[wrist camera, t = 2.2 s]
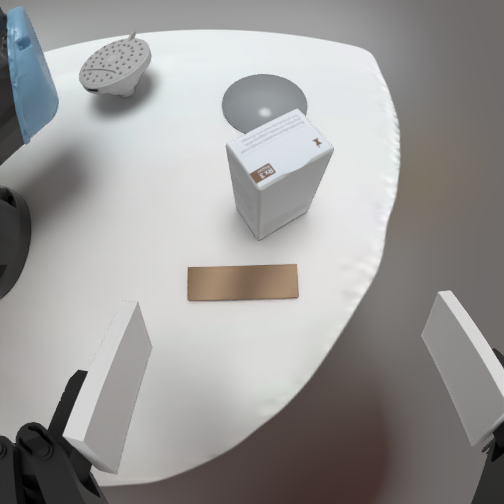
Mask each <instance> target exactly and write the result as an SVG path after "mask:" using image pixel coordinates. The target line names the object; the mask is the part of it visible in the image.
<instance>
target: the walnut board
mask: <svg viewBox="0 0 504 504" xmlns="http://www.w3.org/2000/svg"><path fill="white" fill-rule="evenodd" d="M298 297H299V293H298V275H297V264H285V265H255V266H220V267H188V300H189V301H206V300H252V299H280V298H298Z"/></svg>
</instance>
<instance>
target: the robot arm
mask: <svg viewBox="0 0 504 504" xmlns="http://www.w3.org/2000/svg"><path fill="white" fill-rule="evenodd" d="M58 104H59V101H58V95H57V91H56V88H55V85H54V82H53V79H52V76H51V73H50V71H49V68H48V65H47V63H46V60H45V57H44V54H43V52H42V49H41V46H40V44H39V41H38V39H37V36H36V33H35V31H34V28H33V26H32V23H31V21H30V19H29V17H28V15H27V13H26V10H25V8H24V7H22V6H19V7H16V8H14V9H13V8H12V9H10V10H9V11H8V12H7V14H5V13H3V11H2V9H1V8H0V165H1V164H2V163H4V162H5V161H6V160H7V159H8V158H9V157H10V156H11V155H12V154H13V153H14V152H16V151H17V150H18V149H19V148H20V147H21V146H22V145H24V144H28V143H29V142H30V139H31V138H32V137H33V136H34V135H35V134H36V133H37V132H38V131H39V130H41V129H42V128H43V127H44V126H45V125H46V124H48V123H49V122H50V121H51V120H52V119H53V117H54V116H55V114H56V112H57V109H58ZM30 232H31V224H30V215H29V211H28V207H27V205H26V203H25V201H24V200H23V198H22V197H21V196H20V195H18V194H17V193H15V192H14V191H13V190H11V189H10V188H8V187H5V186H0V298H1V297H3V296H4V295H5V294H6V293H7V292H8V291H9V290H10V289H11V288H12V286H13V285H14V283H15V282H16V280H17V278H18V277H19V275H20V272H21V270H22V268H23V265H24V262H25V259H26V256H27V252H28V248H29V242H30ZM421 337H422V339H423V340H424V342H425V344H426V346H427V348H428V350H429V352H430V354H431V356H432V358H433V360H434V362H435V364H436V366H437V368H438V370H439V372H440V374H441V376H442V378H443V380H444V383H445V385H446V387H447V389H448V391H449V394H450V396H451V398H452V400H453V402H454V405H455V407H456V409H457V412H458V414H459V416H460V419H461V421H462V423H463V426H464V428H465V431H466V433H467V436H468V438H469V441H470V443H471V446H473V445H475V444H478V443H480V442H483V441H485V440H486V439H487V438H488V437H489V436H490V435H491V434H492V433H493V434H494V438H493V440H491V441H490V442H489V443H488V444H487V445H486V446H485V447H484V448H483V450H482V452H484V451H486V450H487V449H488V448H489V447H490V448H489V450H488V452H487V453H486V454H488V455H487V459H486V462H485V466H484V469H483V472H482V475H481V478H480V481H479V484H478V487H477V490H476V492H475V495H474V498H473V500H472V503H471V504H504V356H503V355H502V354H501V353H500V352H499V351H497V350H496V349H495V348H494V349H491V348H490V346H489V345H488V343H487V342H486V340H485V338H484V337H483V335H482V334H481V332H480V331H479V329H478V328H477V327H476V325H475V324H474V322H473V321H472V319H471V318H470V316H469V315H468V314H467V312H466V311H465V309H464V308H463V307H462V305H461V304H460V303H459V301H458V300H457V299H456V297H455V296H454V295H453V293H452V292H451V291H442V292H438V293H437V296H436V299H435V302H434V304H433V307H432V310H431V313H430V315H429V318H428V320H427V323H426V325H425V328H424V330H423V333H422V335H421ZM151 350H152V345H151V342H150V339H149V336H148V333H147V330H146V326H145V323H144V320H143V317H142V313H141V310H140V307H139V303H138V302H136V301H122V302H121V304H120V306H119V308H118V310H117V312H116V314H115V316H114V318H113V320H112V322H111V324H110V326H109V328H108V330H107V332H106V334H105V336H104V338H103V340H102V343H101V345H100V347H99V349H98V351H97V353H96V356H95V358H94V360H93V362H92V364H91V367H90V369H89V371H83V370H78V371H77V372H76V373H75V374H74V375H73V376H72V377H71V378H70V379H69V381H68V383H67V385H66V388H65V392H63V394H62V397H61V401H59V404H58V406H57V408H56V411H55V413H54V415H53V418H52V420H51V423H50V425H49V428H48V430H46V429H45V428H44V427H43V426H42V425H41V424H39V423H35V422H31V423H27V424H25V425H24V426H22V427H21V428H20V430H19V431H18V433H17V436H16V443H12V442H11V441H10V440H9V439H8V438H6V437H5V436H0V504H108V502H107V500H106V499H105V497H104V495H103V493H102V491H101V489H100V487H99V486H98V484H97V482H96V480H95V478H94V476H93V474H92V473H91V472H90V470H91V466H92V465H93V466H94V467H96V468H97V469H98V470H100V471H104V472H108V473H112V474H117V473H118V469H119V464H120V460H121V456H122V452H123V448H124V444H125V440H126V436H127V432H128V429H129V425H130V421H131V417H132V414H133V410H134V407H135V403H136V400H137V396H138V393H139V389H140V386H141V382H142V379H143V376H144V372H145V369H146V366H147V362H148V359H149V356H150V353H151Z"/></svg>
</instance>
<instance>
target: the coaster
mask: <svg viewBox="0 0 504 504" xmlns="http://www.w3.org/2000/svg"><path fill="white" fill-rule="evenodd" d="M222 106H223V112H224V115H225V117H226V119H227V120H228V122H229V123H230V124H231V125H232V126H233V127H235V128H236V129H238V130H239V131H241V132H243V133H248V132H250V131H252V130H254V129H256V128H258V127H260V126H262V125H264V124H266V123H268V122H270V121H272V120H274V119H276V118H278V117H280V116H282V115H284V114H286V113H289V112H291V111H293V110H295V109H299V110H300V111H301V112H302V113H303V114H304V115H306V112H307V100H306V97H305V95H304V93H303V92H302V90H301V89H300V88H299V87H298V86H297V85H296V84H294V83H293V82H291V81H289V80H287V79H285V78H283V77H279V76H275V75H269V74H258V75H252V76H248V77H245V78H242V79H240V80H238V81H236V82H235V83H233V84H232V85H231V86H230V87H229V88H228V89H227V91H226V92H225V94H224V97H223V101H222Z"/></svg>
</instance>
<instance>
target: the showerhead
mask: <svg viewBox="0 0 504 504" xmlns="http://www.w3.org/2000/svg"><path fill="white" fill-rule="evenodd" d="M135 35H136V32H134V31H133V32H131V34H130V36H129V38H128V39H122V40H118V41H115V42H113V43H110V44H108V45H106V46H104V47H103V48H101V49H99V50H98V51H96V52H95V53H94V54H93V55H92V56H91V57H89V58H88V60H87V61H86V62H85V63H84V65H83V66H82V68H81V70H80V73H79V80H80V82H81V84H82V85H83V87H84V88H85V90H86V91H88V92H90V93H94V94H103V93H109V94H112V95H119V94H120V96H121V97H123V98H126V97H129V96H131V95H132V94H133V93H134V91H135V88H134V86H135V85H136V84H137V83H138V81H139V79H140V75H141V74H142V73H143V72H144V71H145V70H146V68H147V67H148V65H149V64H150V61H151V52H150V48H149V45H148V44H147V43H146V42H145V41H144V40H141V39H137V38H134V37H135Z"/></svg>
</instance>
